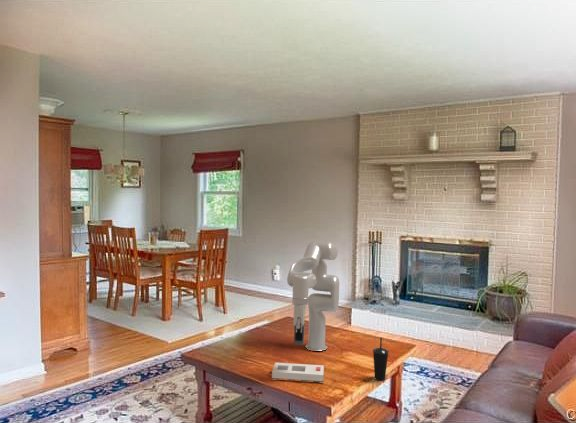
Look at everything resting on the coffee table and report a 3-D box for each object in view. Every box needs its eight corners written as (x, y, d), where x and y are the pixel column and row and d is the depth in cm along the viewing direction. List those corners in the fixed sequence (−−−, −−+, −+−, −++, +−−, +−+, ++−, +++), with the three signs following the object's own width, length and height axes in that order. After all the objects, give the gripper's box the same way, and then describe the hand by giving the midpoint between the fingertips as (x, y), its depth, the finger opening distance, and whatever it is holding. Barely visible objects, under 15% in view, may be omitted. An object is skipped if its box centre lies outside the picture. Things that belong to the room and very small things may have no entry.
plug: (294, 341, 220) (295, 323, 219) (304, 342, 219) (304, 323, 219) (293, 344, 215) (294, 325, 215) (303, 345, 215) (303, 326, 214)
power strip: (275, 370, 225) (275, 360, 225) (323, 373, 223) (323, 363, 223) (271, 380, 213) (272, 370, 213) (323, 383, 211) (323, 373, 211)
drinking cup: (368, 376, 220) (370, 335, 219) (382, 374, 223) (383, 334, 222) (377, 382, 213) (378, 340, 212) (391, 380, 216) (392, 339, 215)
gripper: (294, 296, 225) (292, 333, 226) (290, 304, 209) (289, 343, 209) (309, 297, 225) (308, 334, 225) (307, 305, 208) (305, 344, 208)
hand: (299, 338), depth 217 cm, fingers closed on plug, 4 cm apart
